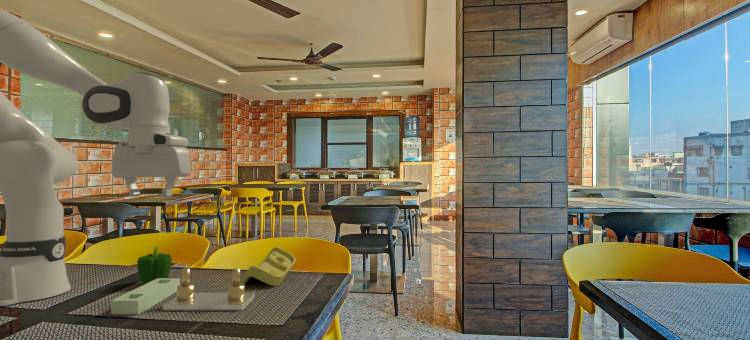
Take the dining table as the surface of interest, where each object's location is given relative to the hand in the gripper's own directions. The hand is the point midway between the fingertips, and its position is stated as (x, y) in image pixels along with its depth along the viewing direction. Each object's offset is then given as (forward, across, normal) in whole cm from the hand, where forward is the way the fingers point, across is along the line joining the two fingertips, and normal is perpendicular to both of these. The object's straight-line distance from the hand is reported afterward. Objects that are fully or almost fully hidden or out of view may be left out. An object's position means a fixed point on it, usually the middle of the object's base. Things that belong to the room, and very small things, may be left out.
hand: (150, 196), depth 95 cm
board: (+25, 0, -1) cm, 25 cm away
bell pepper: (+26, -10, +12) cm, 30 cm away
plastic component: (+26, +18, +25) cm, 41 cm away
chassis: (+26, +16, +1) cm, 30 cm away
